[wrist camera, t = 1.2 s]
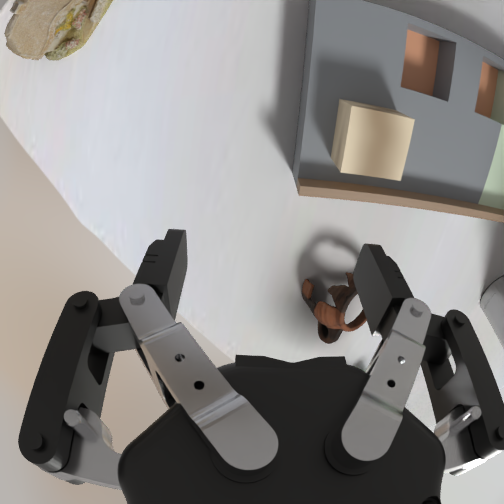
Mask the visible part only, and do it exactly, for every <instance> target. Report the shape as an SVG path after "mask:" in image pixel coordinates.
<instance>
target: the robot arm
mask: <svg viewBox="0 0 504 504" xmlns="http://www.w3.org/2000/svg"><path fill="white" fill-rule="evenodd" d="M186 271H187V240H186V230H178V229H168V231H167V234H166V236H165V239H164V240H155V241H154V242H153V243H152V244H151V245H150V246H149V247H148V249H147V252H146V254H145V256H144V258H143V262H142V263H141V265H140V268H139V270H138V273H137V275H136V277H135V280H134V282H133V285H131V286H128V287H126V288H125V289H124V290H123V291H122V292H121V294H120V296H119V297H116V298H112V299H105V300H98V297H97V296H96V295H95V294H94V293H92V292H89V291H82V292H78V293H76V294H74V295H72V296H71V297H70V298H69V299H68V300H67V302H66V304H65V306H64V309H63V311H62V313H61V316H60V317H59V320H58V322H57V324H56V327H55V329H54V331H53V334H52V336H51V339H50V341H49V344H48V346H47V349H46V352H45V354H44V357H43V359H42V362H41V365H40V368H39V371H38V374H37V376H36V379H35V382H34V385H33V389H32V391H31V395H30V398H29V401H28V405H27V408H26V411H25V415H24V418H23V422H22V426H21V430H20V434H19V439H18V440H19V441H18V443H19V448H20V451H21V453H22V455H23V456H24V457H25V458H26V459H27V460H28V461H30V462H32V463H33V464H35V465H37V466H38V467H40V468H41V469H42V470H44V471H45V472H47V473H49V474H51V475H53V476H55V477H57V478H59V479H61V480H65V481H67V482H69V483H72V484H76V485H79V484H83V483H85V482H88V483H92V484H96V485H100V486H105V487H109V488H114V489H119V490H122V491H123V494H124V496H125V498H126V501H127V504H441V501H440V490H441V483H442V477H443V474H445V473H450V474H452V475H454V476H458V475H461V474H463V473H465V472H467V471H469V470H471V469H472V468H474V467H476V466H478V465H480V464H482V463H484V462H485V461H487V460H489V459H490V458H492V457H494V456H495V455H497V454H499V453H500V452H502V451H503V450H504V403H503V401H502V397H501V394H500V392H499V389H498V386H497V383H496V381H495V378H494V375H493V373H492V370H491V368H490V365H489V363H488V360H487V358H486V356H485V353H484V351H483V349H482V346H481V344H480V342H479V340H478V337H477V335H476V333H475V331H474V329H473V327H472V325H471V323H470V321H469V319H468V317H467V316H466V315H465V314H463V313H462V312H460V311H458V310H450V311H448V312H447V314H446V315H445V317H442V316H438V315H435V314H431V311H430V309H429V307H428V306H427V305H426V304H425V303H424V302H423V301H421V300H419V299H416V298H414V296H413V294H412V292H411V290H410V288H409V287H408V285H407V283H406V281H405V279H404V277H403V275H402V273H401V272H400V269H399V267H398V265H397V264H396V263H395V262H394V261H393V260H392V259H391V258H390V257H389V256H386V254H385V252H384V250H383V249H382V247H381V246H380V245H375V244H364V245H363V247H362V249H361V252H360V255H359V258H358V261H357V264H356V266H355V269H354V275H353V279H354V284H355V287H356V289H357V292H358V295H359V298H360V301H361V304H362V307H363V310H364V313H365V316H366V319H367V322H368V325H369V328H370V331H371V334H372V336H382V340H381V342H380V344H379V346H378V348H377V350H376V352H375V354H374V356H373V358H372V359H371V361H370V363H369V365H368V367H367V369H366V371H365V372H364V371H362V370H361V369H359V368H356V367H354V366H351V365H347V364H346V360H345V356H342V357H317V358H313V359H309V360H304V361H300V362H296V363H290V362H286V361H282V360H277V359H273V358H269V357H265V356H248V355H236V358H235V363H231V364H227V365H224V366H221V367H219V368H216V367H215V365H214V364H213V363H212V362H211V360H209V358H208V356H207V355H206V354H205V352H204V351H203V350H202V349H201V347H200V346H199V345H198V343H197V342H196V341H195V339H194V338H193V337H192V335H191V334H190V333H189V331H188V330H187V328H186V327H185V326H184V325H183V324H182V323H181V322H179V323H176V322H175V318H176V313H177V309H178V305H179V300H180V296H181V292H182V288H183V283H184V279H185V275H186ZM480 306H481V308H482V310H483V312H484V313H485V315H486V317H487V319H488V320H489V322H490V324H491V326H492V328H493V329H494V331H495V333H496V335H497V337H498V339H499V341H500V343H501V345H502V346H503V348H504V276H503V277H501V278H499V279H498V280H496V281H495V282H494V283H492V284H491V285H490V286H489V288H488V289H487V290H486V291H485V293H484V294H483V296H482V299H481V302H480ZM131 349H135V350H136V352H137V354H138V356H139V358H140V360H141V361H142V363H143V365H144V367H145V368H146V370H147V372H148V374H149V375H150V377H151V379H152V381H153V382H154V384H155V386H156V388H157V390H158V393H159V394H160V396H161V398H162V400H163V401H164V403H165V404H166V406H167V408H168V410H167V411H166V412H165V413H164V414H163V415H162V416H161V417H159V419H157V420H156V421H155V422H154V423H153V424H152V425H150V426H149V427H148V428H147V429H146V430H145V431H144V432H142V433H141V434H140V435H139V436H138V437H137V438H136V439H134V440H133V441H132V442H131V443H130V444H129V445H128V446H127V447H126V448H125V450H124V451H123V453H122V454H119V453H116V452H115V451H114V449H113V446H112V435H111V432H110V430H109V429H108V427H107V426H106V425H105V424H104V423H103V421H101V419H100V417H101V411H102V406H103V401H104V397H105V392H106V387H107V383H108V378H109V374H110V370H111V366H112V361H113V357H114V353H115V352H117V351H124V350H131ZM451 354H452V356H453V358H454V361H455V364H456V372H455V374H454V373H453V370H452V367H451V365H450V362H449V359H448V358H449V357H450V355H451ZM420 364H421V367H422V370H423V374H424V377H425V381H426V384H427V388H428V392H429V395H430V399H431V403H432V407H433V411H434V415H435V419H436V424H437V425H436V426H435V430H434V433H433V432H432V431H431V430H430V429H428V428H427V427H426V426H425V425H424V424H423V423H422V422H421V421H420V420H419V419H417V418H416V417H415V416H414V415H413V414H412V413H411V412H410V411H409V410H407V409H406V408H405V404H406V402H407V399H408V397H409V394H410V392H411V389H412V387H413V384H414V381H415V378H416V376H417V373H418V370H419V367H420Z"/></svg>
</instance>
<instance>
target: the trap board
mask: <svg viewBox="0 0 504 504" xmlns="http://www.w3.org/2000/svg"><path fill="white" fill-rule="evenodd" d="M339 99H343V100H348V101H354V102H359V103H365V104H370V105H374V106H379V107H384V108H388V109H392V110H397V111H399V112H401V113H403V114H405V115H407V116H409V117H411V118H413V119H415V121H414V126H413V131H412V136H411V140H410V145H409V149H408V153H407V157H406V162H405V166H404V170H403V173H402V177H401V181H398V180H392V179H385V178H378V177H371V176H364V175H357V174H349V173H341V172H340V171H339V169H338V168H337V166H336V165H335V163H334V162H333V160H332V159H331V153H332V146H333V140H334V133H335V127H336V120H337V113H338V105H339ZM292 173H293V177H294V180H295V184H296V187H297V191H298V194H299V196H310V197H322V198H333V199H343V200H353V201H362V202H371V203H379V204H388V205H396V206H403V207H411V208H418V209H425V210H432V211H439V212H445V213H452V214H458V215H464V216H470V217H475V218H481V219H487V220H492V221H497V222H503V223H504V59H502V58H501V57H499V56H497V55H496V54H494V53H492V52H490V51H489V50H487V49H485V48H483V47H481V46H479V45H478V44H476V43H474V42H472V41H470V40H468V39H466V38H464V37H462V36H460V35H458V34H456V33H453V32H451V31H449V30H447V29H445V28H442V27H440V26H438V25H435V24H433V23H430V22H428V21H425V20H423V19H420V18H417V17H415V16H412V15H409V14H406V13H403V12H400V11H397V10H394V9H391V8H388V7H385V6H381V5H378V4H374V3H371V2H367V1H363V0H309V11H308V24H307V36H306V48H305V59H304V70H303V80H302V91H301V100H300V110H299V119H298V128H297V137H296V146H295V155H294V163H293V171H292Z"/></svg>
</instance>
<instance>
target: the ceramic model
mask: <svg viewBox="0 0 504 504" xmlns="http://www.w3.org/2000/svg"><path fill="white" fill-rule="evenodd" d="M112 1H113V0H16V1H15V2H14V4H13V7H12V8H11V9H10V11H11V12H12V13H14V15H13V16H12V18H11V19H10V21H9V23H8V24H7V27H6V30H5V37H6V39H7V43H6V46H7V47H8V49H10V50H11V51H12V52H13V53H15V54H16V55H19V56H21V57H22V58H26V59H32V60H39V59H41V58H42V57H43V56H44V55H45V56H46V58H47V59H49V60H60V59H62V58H64V57H67V56H69V55H70V54H72V53H74V52H75V51H77V50H78V49H80V48H81V47H82V46H83V45H85V43H86V42H87V40H88V39H89V37H90V36H91V34H92V33H93V31H94V29H95V28H96V27H97V25H98V24H99V22H100V21H101V19H102V17H103V16H104V14H105V13H106V11H107V9H108V8H109V6H110V4H111V3H112Z"/></svg>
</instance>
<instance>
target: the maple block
mask: <svg viewBox="0 0 504 504" xmlns="http://www.w3.org/2000/svg"><path fill="white" fill-rule="evenodd" d="M414 121H415V119H413V118H411V117H409V116H407V115H405V114H403V113H401V112H399V111H397V110H392V109H388V108H384V107H379V106H374V105H370V104H365V103H359V102H354V101H348V100H343V99H339V105H338V113H337V120H336V127H335V133H334V140H333V146H332V153H331V159H332V160H333V162H334V163H335V165H336V166H337V168H338V169H339V171H340V172H341V173H349V174H357V175H364V176H371V177H378V178H385V179H392V180H398V181H401V177H402V173H403V170H404V166H405V162H406V157H407V153H408V149H409V145H410V140H411V136H412V131H413V126H414Z"/></svg>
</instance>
